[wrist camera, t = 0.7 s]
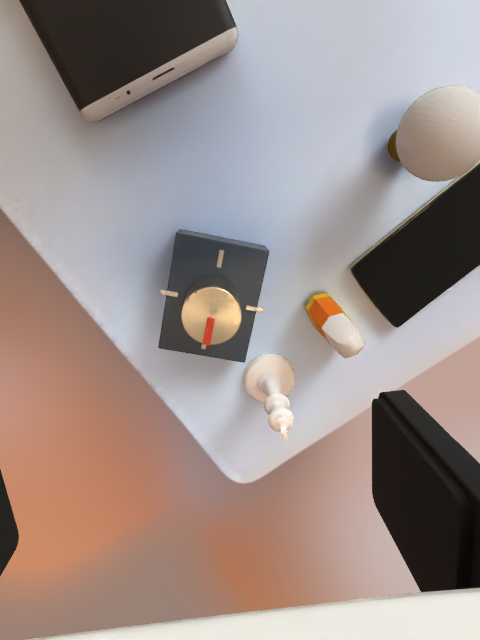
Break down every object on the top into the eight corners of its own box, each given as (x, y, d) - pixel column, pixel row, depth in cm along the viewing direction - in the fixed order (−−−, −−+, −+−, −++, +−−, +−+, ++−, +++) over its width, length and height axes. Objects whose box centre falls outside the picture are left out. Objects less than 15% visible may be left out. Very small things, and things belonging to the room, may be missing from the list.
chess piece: (288, 348, 40) (310, 397, 30) (299, 393, 41) (323, 454, 32) (238, 361, 40) (244, 414, 30) (250, 405, 41) (260, 470, 32)
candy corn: (295, 301, 38) (315, 329, 31) (322, 282, 38) (349, 305, 30) (331, 349, 40) (358, 387, 32) (357, 331, 40) (390, 365, 32)
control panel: (173, 227, 36) (169, 231, 33) (271, 247, 37) (275, 252, 34) (157, 335, 39) (152, 348, 36) (247, 351, 40) (250, 364, 37)
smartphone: (349, 270, 36) (496, 151, 34) (345, 268, 38) (487, 152, 35) (395, 330, 38) (538, 221, 36) (390, 326, 39) (528, 220, 37)
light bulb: (354, 170, 35) (404, 163, 26) (381, 96, 34) (445, 59, 24) (416, 192, 36) (488, 192, 26) (446, 120, 34) (533, 93, 25)
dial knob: (190, 270, 34) (186, 283, 29) (243, 280, 34) (247, 294, 30) (181, 321, 35) (176, 340, 31) (232, 330, 36) (235, 350, 31)
